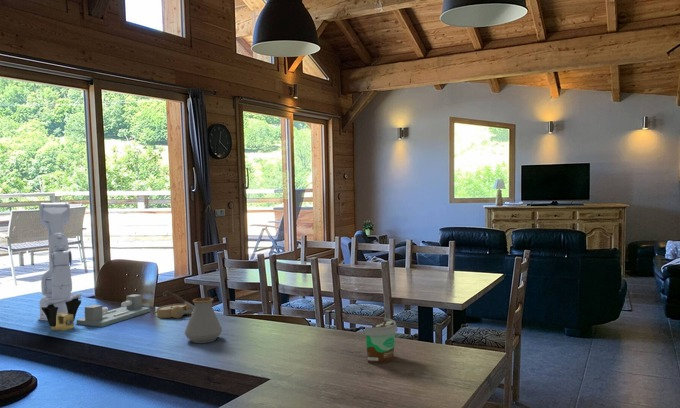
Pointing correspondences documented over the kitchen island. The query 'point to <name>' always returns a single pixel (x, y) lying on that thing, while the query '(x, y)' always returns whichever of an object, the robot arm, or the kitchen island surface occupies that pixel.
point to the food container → (381, 341)
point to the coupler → (64, 322)
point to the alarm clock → (173, 311)
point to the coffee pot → (201, 320)
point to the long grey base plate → (113, 312)
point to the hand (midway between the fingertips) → (62, 323)
